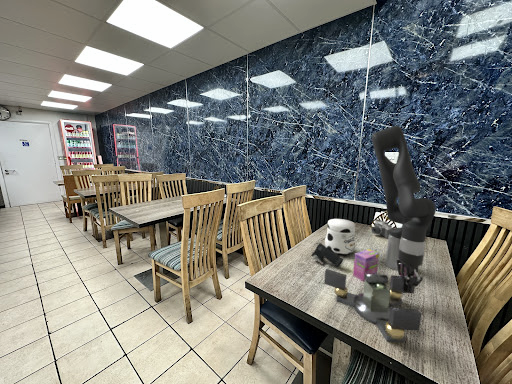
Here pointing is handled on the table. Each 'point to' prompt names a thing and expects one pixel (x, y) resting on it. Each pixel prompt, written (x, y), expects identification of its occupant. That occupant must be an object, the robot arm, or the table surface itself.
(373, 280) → the tribrach
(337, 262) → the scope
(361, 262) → the box
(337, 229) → the milk container
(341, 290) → the grey upright plank
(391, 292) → the knob
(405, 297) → the table surface
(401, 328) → the knob
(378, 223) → the camera
